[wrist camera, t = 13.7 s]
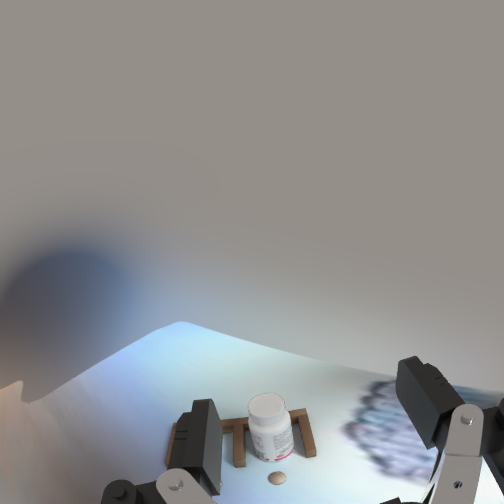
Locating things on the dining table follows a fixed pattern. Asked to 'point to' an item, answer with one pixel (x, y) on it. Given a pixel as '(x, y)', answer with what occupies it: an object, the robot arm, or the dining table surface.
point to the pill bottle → (270, 427)
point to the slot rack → (242, 425)
